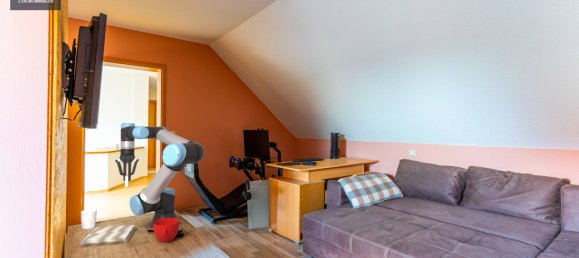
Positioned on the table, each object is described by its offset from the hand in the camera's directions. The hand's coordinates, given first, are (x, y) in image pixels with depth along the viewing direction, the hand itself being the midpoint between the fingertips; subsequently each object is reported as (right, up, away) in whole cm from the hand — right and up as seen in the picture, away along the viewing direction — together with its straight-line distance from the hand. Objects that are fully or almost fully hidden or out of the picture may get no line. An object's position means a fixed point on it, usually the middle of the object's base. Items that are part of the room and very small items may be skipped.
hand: (127, 186), depth 179 cm
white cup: (-21, -24, -3) cm, 32 cm away
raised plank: (0, -23, -14) cm, 27 cm away
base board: (+1, -24, -19) cm, 31 cm away
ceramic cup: (+33, -25, -23) cm, 48 cm away
